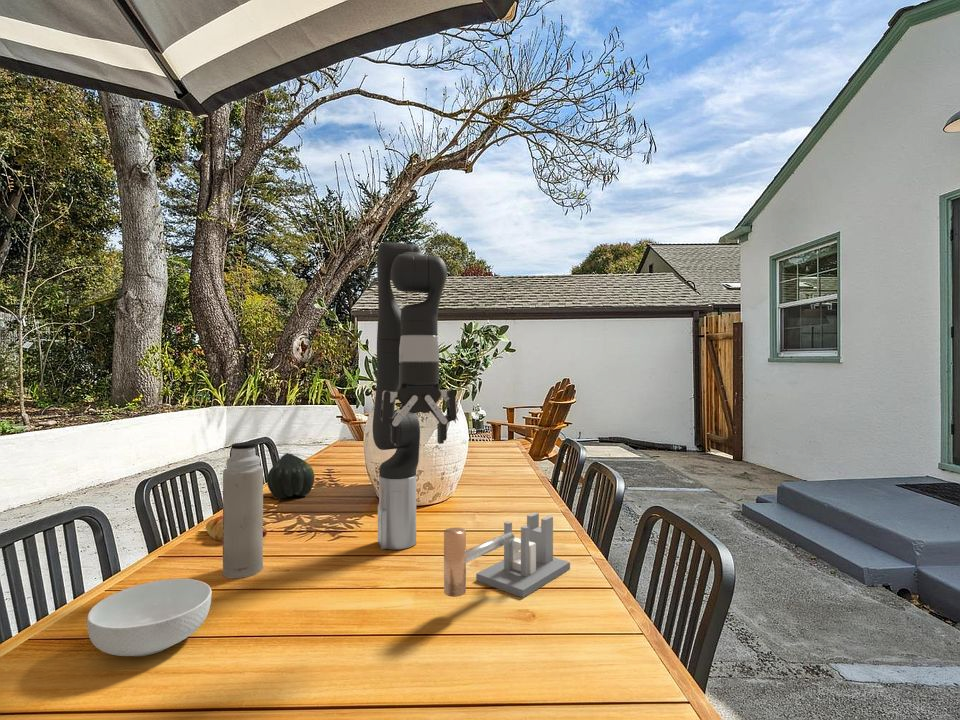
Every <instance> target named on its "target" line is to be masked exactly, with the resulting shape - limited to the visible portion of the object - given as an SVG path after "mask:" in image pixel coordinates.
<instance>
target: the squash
mask: <svg viewBox="0 0 960 720" xmlns="http://www.w3.org/2000/svg"><path fill="white" fill-rule="evenodd" d="M266 483H267V487H268V490H269V492H270V493H271V494H272V495H273V496H274V497H277V498H279V499H287V498H289V497H293V496H297V497H301V496H302V497H304V496H307V495H308V494H309V493H310V492H311V491H312V488H313V487H314V483H315V472H314V470H313V467H312V466H311V465H310V464H309V463H308V462H307V461H306V460H304V459H302V458H300V457H298V456H296V455H295V454H292V453H288V452H286V453H285V454H283V455H282V456H281V457H280V458H279V459H278V460H277V461H276V463H274V465H273V466H272V467H271V468H270V470H269V471H268V474H267V477H266Z"/></svg>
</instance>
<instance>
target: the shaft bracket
mask: <svg viewBox="0 0 960 720" xmlns="http://www.w3.org/2000/svg"><path fill="white" fill-rule="evenodd" d="M540 519H541V520H540ZM503 524H504V525H503V534H505V533H508V532H512V533H513V522H511V521H505V522H503ZM539 524H540V525H539ZM520 539H521V550H520V551H519V559H520V560H521V571H518V570H515V569H512V542H510V543H508V544H506V545H504V546H503V557H504V558H503V559H502V560H501V561H498V562H497V563H495V564H493V565H490V566H488V567H487V568H484V569H482V570H480V571H478V572H476V575H475V576H476V578H475V581H476V582H479V583H482V584H484V585H487V586H490V587H493V588H496V589H498V590H500V591H503V592H506V593H508V594H511V595H514V596H517V597H520V598H522V599H524V598H526V597H527V596H529V595H530V594H531V593H532V594H533V592H535V591H537V590H538V589H540V588H542V587H543V586H544V585H546V584H549V582H551V581H553V580H554V579H556V578H558V577H559V576H561V575H563V574H564V573H566V572H567V571H569V570H571V562H570V561H568V560H564V559H561V558H558V557H554V517H553V516H552V515H551V516H550V515H547V516H545V517H542V518H540V514H539V513H538V512H534V511H533V512H532V513H530V514H527V515H526V525H523V526H521V527H520ZM529 541H530V542H534V543H536V572H534V573H532V574H531V575H530V574H529Z"/></svg>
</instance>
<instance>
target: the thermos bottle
mask: <svg viewBox="0 0 960 720" xmlns="http://www.w3.org/2000/svg"><path fill="white" fill-rule="evenodd" d="M256 447H257V443H256V442H254V441H253V442H252V441H245V442H243V441H242V442H236V443H232V444H231V451H230V457H229V458H228V459H226V463H225V465H226V468H225V469H223V471H222V516H223V541H222V575H223V577H225V578H227V579H242V577H244V578H247V577H251V575H252V576H255V575H257V574H258V573H260V572H262V570H263V568H264V537H263V528H264V527H263V526H264V525H263V524H264V467H263V466H262V465H261V464H262V463H261V459H260V458H261V457H260V456H259V455H256V454H257V453H256Z"/></svg>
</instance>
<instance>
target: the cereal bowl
mask: <svg viewBox="0 0 960 720" xmlns="http://www.w3.org/2000/svg"><path fill="white" fill-rule="evenodd" d="M211 605H212V588H211V586H210V585H209V584H207V583H206V582H204V581H201V580H197V579H193V578H168V579H161V580H153V581H149V582H144V583H140V584H136V585H133V586H130V587H128V588H124V589H122V590H119V591H116V592H113V594H112V593H111V595H109V596H106V597H105V598H103V599H102V600H100V601H98V602H97V603H96V604H95V605H93V606H92V608H91V609H90V610H89V612H88V613H87V617H86V618H87V619H86V626H87V632H88V633H87V634H88V636H89V640H90V641H91V643H92V644H93V646H95V648H96V649H98V650H99V651H101V652H103V653H105V654H109V655H113V656H118V657H120V656H121V657H145V656H151V655H154V654H158V653H160V652H163V651H165V650H167V649H169V648H170V647H173V646H174V645H176V644H178V643H180V642H182V641H184V640H185V639H187V638H188V637H190V636H191V635H192V634H194V633H195V632H196V631H197V630H198V629H199V628H200V627H201V626H202V625H203V623H204V622H205V620H206V618H208V617H207V616H208V614H209V612H210V609H211Z"/></svg>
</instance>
